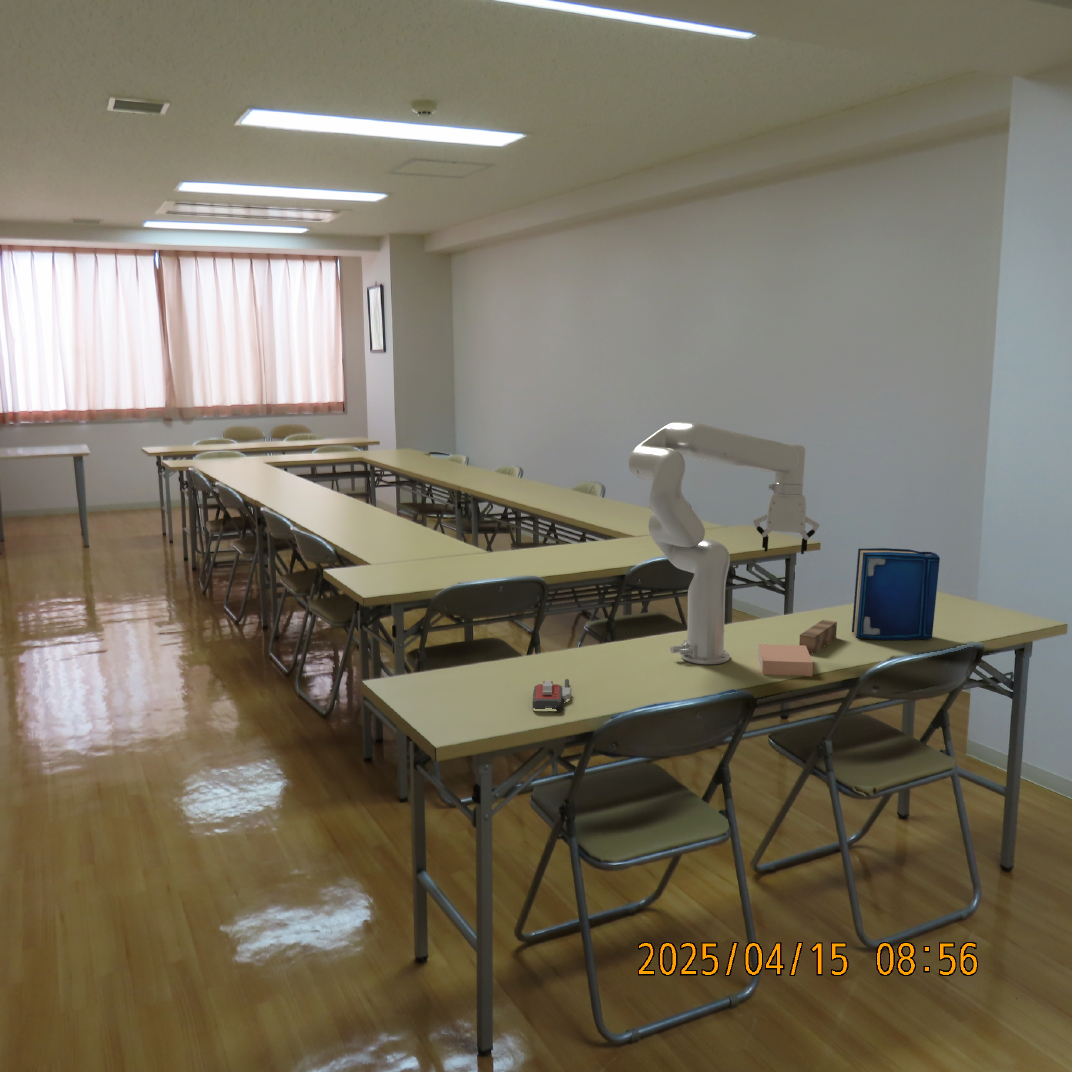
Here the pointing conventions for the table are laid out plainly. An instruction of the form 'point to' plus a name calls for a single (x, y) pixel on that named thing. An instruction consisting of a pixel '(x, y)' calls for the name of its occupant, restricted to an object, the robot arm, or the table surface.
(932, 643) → the table surface
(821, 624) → the block
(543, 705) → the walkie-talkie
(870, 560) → the book
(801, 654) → the tile
